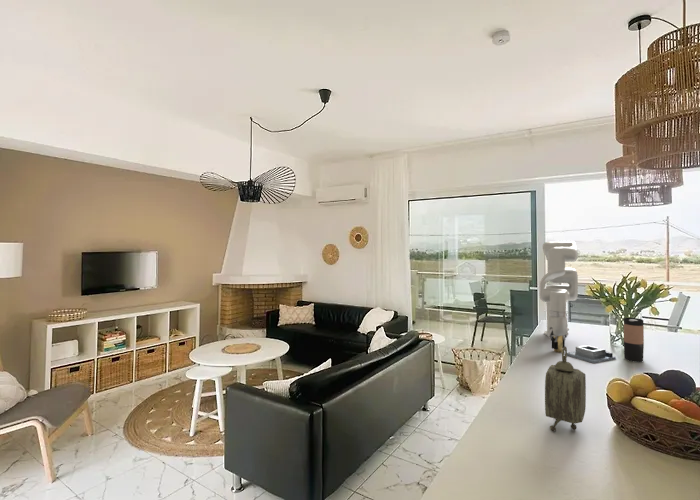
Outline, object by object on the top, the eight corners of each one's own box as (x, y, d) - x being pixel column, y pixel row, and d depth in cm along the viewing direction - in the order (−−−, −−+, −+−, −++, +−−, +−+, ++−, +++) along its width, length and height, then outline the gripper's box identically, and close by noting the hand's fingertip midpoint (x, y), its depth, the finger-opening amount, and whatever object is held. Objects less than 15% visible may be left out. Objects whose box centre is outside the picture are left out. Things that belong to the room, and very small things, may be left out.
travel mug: (636, 357, 174) (636, 317, 174) (647, 362, 167) (647, 320, 167) (620, 357, 175) (619, 317, 175) (630, 362, 168) (630, 320, 167)
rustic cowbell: (553, 414, 117) (553, 339, 117) (586, 422, 111) (585, 344, 111) (545, 432, 106) (544, 350, 105) (580, 442, 100) (580, 355, 100)
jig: (587, 351, 185) (587, 342, 185) (615, 359, 172) (615, 350, 172) (566, 355, 179) (566, 346, 179) (593, 363, 166) (593, 354, 166)
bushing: (557, 350, 188) (557, 333, 188) (564, 352, 185) (564, 335, 184) (552, 350, 187) (552, 334, 187) (558, 352, 183) (558, 335, 183)
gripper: (562, 311, 192) (562, 344, 192) (540, 314, 186) (540, 348, 186) (575, 314, 185) (575, 348, 185) (553, 316, 179) (553, 352, 179)
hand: (558, 348), depth 186 cm, fingers open, 4 cm apart
